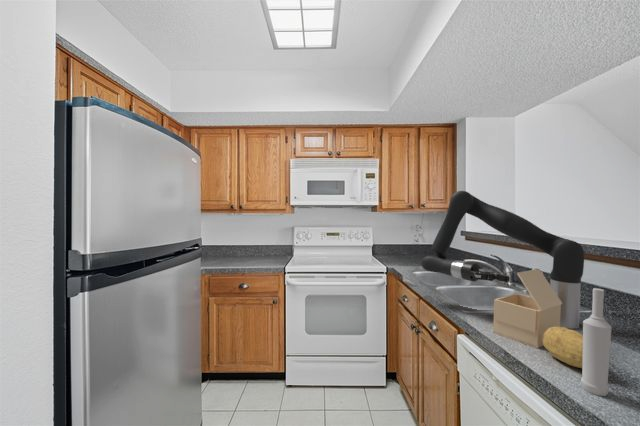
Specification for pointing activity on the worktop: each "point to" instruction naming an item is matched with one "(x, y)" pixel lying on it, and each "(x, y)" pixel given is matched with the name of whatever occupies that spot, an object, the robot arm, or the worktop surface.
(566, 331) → the potato
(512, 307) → the carton
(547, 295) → the carton flap
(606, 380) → the bottle
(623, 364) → the worktop surface
